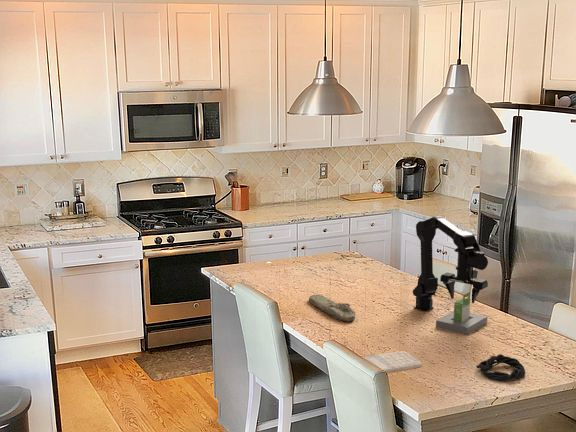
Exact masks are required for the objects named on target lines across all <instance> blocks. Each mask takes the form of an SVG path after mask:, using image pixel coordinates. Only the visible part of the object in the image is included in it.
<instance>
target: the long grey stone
mask: <svg viewBox="0 0 576 432" xmlns="http://www.w3.org/2000/svg"><path fill="white" fill-rule="evenodd" d="M308 302H309V303H311V305H313V306H314V307H315V308H317V309H318V310H320V311H321V312H323V313H325V314H326V315H328V316H329V317H332V318H334V319H335V320H339V321H343V322H348V323H349V322H352V321H355V319H356V312H355V310H354V309H353V308H352V307H351V304H350V303H342V302H339V303H338V302H336V301H333V300H331V299H330V298H327V297H326V296H324V295H322V294H312V295H310V296H309V297H308Z"/></svg>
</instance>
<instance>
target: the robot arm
mask: <svg viewBox="0 0 576 432" xmlns="http://www.w3.org/2000/svg"><path fill="white" fill-rule="evenodd" d="M437 230H440V231H441V232H443V233H444V234H445V235H446V236H448V237H449V238H451V239H452V241H453V244H454V245H455V246H456V247H457V248H455V249H454V252H456V253H457V266H455V270H456V273H451V272H445V273H443V274H441V275H440V280H439V278H438V277H435V274H434V271H433V270H434V266H433V240H434V238H435V237H436V232H437ZM415 232H416V236H417V238H418V239H419V242H420V275H419V277H418V278H417V284H416V286H415V287H414V288H413V289H412V295H413V296H414V297H415V306H414V307H413V309H414V310H416V311H417V310H418V311H422V312H428V311H431V310H433V309H434V305H433V302H434V300H433V296H435V295H436V292H437V290H438V287H439V283H438V282H439V281H440V282H442V284H443V285H444V287H446V290H447V292H448V294H449V296H450V299H451V300H454V297H455V284H456V283H461V284H466V285H471V286H472V288H471V304H475V301H476V300H477V297H478V295H479V293H480V291H482V290H484V289H486V288H489V287H488V286H489V282H488V281H487V279H482V278H478V274H479V273H478V272H479V271H478V270H480V271H484V270H485V269H486V268H487V267H488V264H489V260H488V258H487V256H485V252H481V249H480V245H479V243H478V241H477V239H476V236H475V235H474V234H473V233H471V232H469V231H466V230H461V229H460V228H458V227H457V226H456V225H454V224H452V223H451V222H449V221H448V220H447V219H445V217H444V216H442V215H437V216H432V217H430V218H428V219H425V220H419V221H418V222H417V223H416V224H415ZM475 269H476V270H475ZM455 274H456V275H455ZM474 279H475V280H474Z"/></svg>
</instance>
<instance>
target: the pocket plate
mask: <svg viewBox="0 0 576 432" xmlns="http://www.w3.org/2000/svg"><path fill="white" fill-rule="evenodd" d="M453 319H454V310H453V311H451V312H450V313H448V314H445V315H444V316H442V317H440V318H438V319H436V320H435V328H438V329H442V330H446V331H450V332H454V333H457V334H461V335H466V336H468V335H470V334H472V333H473V332H475V331H476V330H478V329H480V328H482V327H484V326H485V325H487V324H488V315H487V316H486V315H482V314H478V313H472V312H470V316H469V320H468V321H466V322H464V323H462V322H458V321H454V320H453Z"/></svg>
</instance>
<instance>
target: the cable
mask: <svg viewBox="0 0 576 432" xmlns="http://www.w3.org/2000/svg"><path fill="white" fill-rule="evenodd" d="M500 364H505V365H507V366H510V367H512V366H513V367H512V368H513V369H512V371H511V372H510V374H509V373H507V372H502V371H497V370H494V371H492V370H491V369H492V368H493V367H495V366H498V365H500ZM514 367H515V368H514ZM475 368H476V369H480V371H481V373H483V375H484V377H485V376H486V378H487V377H488V378H487V379H489V380H495V381H499V380H500V381H499V382H507V381H512V380H515V379H520V378H519V377H521V378H523V377H524V376H525V375H526V370H525V366H524V365H523V364H521V362H520V361H519V360H518V359H517V358H515V357H510V356H506V355H503V354H497V355H491V356H490V357H489V358H487V359H486V360H483V361H481V362H480V363H479V364H478V365H476V367H475Z"/></svg>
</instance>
